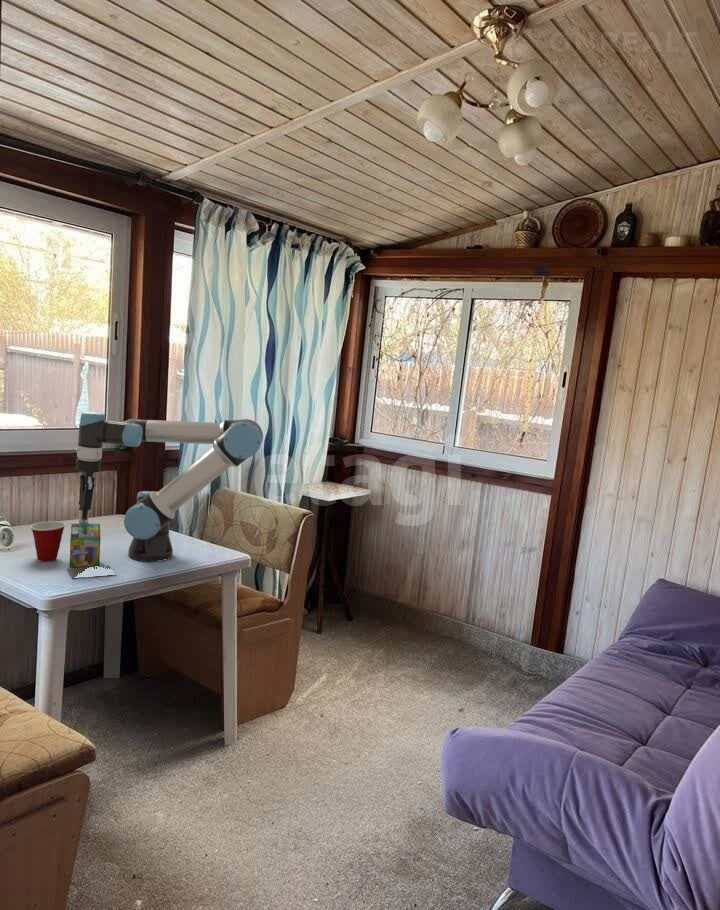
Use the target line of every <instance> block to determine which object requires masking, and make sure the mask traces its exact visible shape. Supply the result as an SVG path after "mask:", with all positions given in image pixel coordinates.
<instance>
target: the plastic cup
mask: <svg viewBox="0 0 720 910" xmlns="http://www.w3.org/2000/svg"><path fill="white" fill-rule="evenodd" d="M66 526H67V525H66V523H65V522H63V521H57V520H53V521H52V520H51V521H40V522H36V523H33V524H31V525H30V526H29V528H30V529H31V531H32V535H33V539H34V540H33V541H34V546H35V551H36V553H35V554H36V558H37V560H38V561H39V560H40V561H39V562H52V561H53V560H54V561H56V560H57V558H58V554H59V550H60V547H61V541H62V538H63V537H62V536H63V534H64V530H65V527H66ZM54 561H53V562H54Z"/></svg>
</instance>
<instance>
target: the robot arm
mask: <svg viewBox="0 0 720 910" xmlns="http://www.w3.org/2000/svg"><path fill="white" fill-rule="evenodd" d="M263 439H264V434H263V430H262V428H261V426H260V425H259V423H257V422H256V421H254V420H253V419H248V418H246V419H245V418H244V419H234V420H232V419H231V420H227V419H223V420H222V421H221V422H207V421H206V422H205V421H183V420H182V421H181V420H179V421H178V420H162V419H161V420H158V419H156V420H154V419H139V418H129V419H127V420H123V421H115V420H108V419H106V414H105V413H103V412H98V411H91V410H90V411H89V410H88V411H83V412H82V413H81V414H80V420H79V424H78V440H77V442H78V443H77V448H75V451H76V457H77V458H76V459H75V460H76V462H75V463H76V464H75V469H76V471H78V472H81V474H80V475H79V492H78V493H79V495H78V505H79V507H78V511H79V512H78V513H79V514H78V524H82V523H83V519H84V522H85V523H89V514H90V510H91V509H92V502H93V494H94V489H95V486H96V485H95V477H94V473H99V472H100V471H101V466H102V465H101V464H102V461H101V459H102V457H103V444H109V445H110V444H111V445H117V446H118V445H119V446H124V447H125V446H126V447H128V448H129V447H133V448H134V447H139V446H140V445H141V443H142V442H143V443H144V442H152V443H154V442H155V443H176V444H177V443H179V444H202V445H213V446H212V447H211V448H210V449H209V450H208V451H206V452H205V453H204V454H203V455H201V456H200V457H199V458H198V459H197V460H195V461H194V462H193V463H192V464H191V465H189V466H188V467H187V468H185V469H184V470H183V471H182V472H181V473H179V474H178V475H177V476H176V477H175V478H173V479H172V480H171V481H169V482H168V483H167V484H166V485H165V486H164V487H162V488H161V489H160V490H158V491H155V490H154V491H153V490H152V491H149V490H146V491H145V490H143V491H139V492H138V493H137V496H136V503H135V504H134V505H132V506H131V507H129V508H128V509H127V510H126V512H125V515H124V519H123V525H124V528H125V530H126V532H127V533H128V534H129V536H131V537H132V539H131V542H130V545H129V547H128V553H127V554H128V555H127V557H129V558H130V559H133V560H136V561H140V560H142V561H141V562H158V561H157V560H163V561H165V560H164V559H167V560H169V559H168V558H170V559H172V558H173V554H174V553H173V552H174V549H173V546H172V545H173V544H172V541H171V538H170V523H171V521H173V520H174V518H175V515H176V511H177V510H179V509H180V508H181V507H182V506H183V505H185V504H186V503H187V502H189V501H190V500H191V499H192V498H193V497H194V496H196V495H197V494H199V492H201V491H202V490H203V489H205V488H206V487H207V486H208V485H210V484H211V483H212V482H213V481H214V480H215V479H217V478H218V477H219V476H220V475H222V474H223V473H224V472H225V471H227V470H228V469H229V468H230V467H236V468H237V467H239V466H240V465H241V464H243V463H244V462H245V461H246V460H248V459H249V458H251V457H254V455H255V454H257V453H258V451H259V450H260V448H261V445H262V443H263ZM171 557H172V558H171Z"/></svg>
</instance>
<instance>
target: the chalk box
mask: <svg viewBox="0 0 720 910" xmlns="http://www.w3.org/2000/svg"><path fill="white" fill-rule="evenodd" d="M69 539H70V541H69V542H70V543H69V545H70V546H69V568H79V567H83V566H84V567H85V566H93V567H95V566H101V565H100V559H101V558H100V557H101V524H100V523H91V522H90V523H89V522H88V523H85V522H84V519H83V523H82V524H79V523H71V527H70V538H69Z"/></svg>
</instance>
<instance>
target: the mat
mask: <svg viewBox="0 0 720 910" xmlns="http://www.w3.org/2000/svg"><path fill="white" fill-rule="evenodd" d="M100 566H101V565H99V567H100ZM103 566H104V567H105V566H106V567H105V569H106V568H107V569H108V568H109V569H110V568H111V566H110V565H103ZM93 567H94V569H95V566H93ZM104 567H103V568H104ZM88 568H89V567H88ZM85 569H87V567H68V568H66V571H67V570H68V571H67V573H68V572H69V573H70V574H69V573H68V574H69V576H70V575H71V576H72V577H71V576H70V577H71V579H72V578H74V577H76V576H77V575H78V573H79V574H80V573H82V572H83V571H85ZM96 569H97V567H96Z"/></svg>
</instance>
